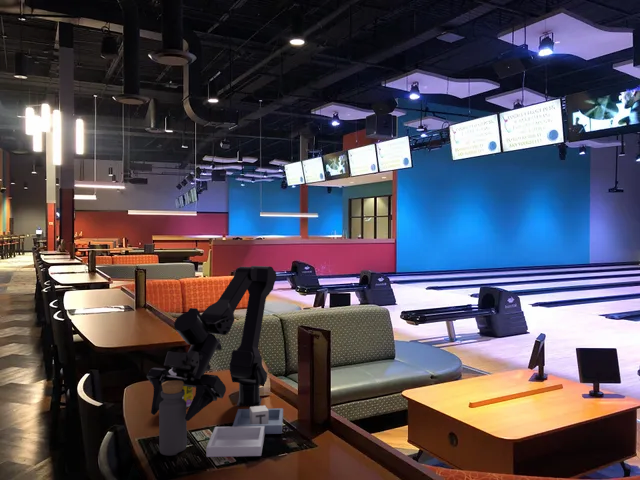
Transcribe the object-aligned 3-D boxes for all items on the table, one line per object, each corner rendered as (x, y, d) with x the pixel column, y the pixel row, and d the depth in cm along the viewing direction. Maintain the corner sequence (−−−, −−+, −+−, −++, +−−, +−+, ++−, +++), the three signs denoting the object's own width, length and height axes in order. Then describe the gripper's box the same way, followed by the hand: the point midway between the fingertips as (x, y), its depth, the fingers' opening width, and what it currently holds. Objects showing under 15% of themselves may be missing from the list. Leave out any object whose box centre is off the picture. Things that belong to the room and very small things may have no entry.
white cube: (249, 422, 131) (249, 406, 131) (265, 421, 132) (265, 405, 132) (252, 428, 127) (252, 412, 127) (268, 426, 128) (268, 410, 128)
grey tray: (215, 437, 123) (215, 426, 123) (264, 436, 123) (264, 426, 123) (206, 459, 111) (206, 447, 111) (261, 458, 112) (260, 446, 112)
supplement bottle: (188, 410, 141) (188, 363, 141) (164, 410, 141) (164, 363, 141) (195, 402, 148) (195, 357, 148) (172, 402, 148) (171, 357, 148)
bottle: (179, 456, 112) (178, 387, 112) (154, 454, 114) (153, 386, 113) (191, 445, 118) (190, 380, 118) (167, 443, 119) (167, 378, 119)
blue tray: (238, 418, 135) (238, 409, 135) (283, 417, 136) (283, 408, 136) (232, 436, 124) (232, 425, 124) (281, 435, 124) (281, 425, 124)
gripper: (151, 333, 123) (116, 393, 113) (218, 339, 116) (188, 404, 106) (173, 359, 130) (142, 417, 120) (237, 366, 123) (210, 429, 113)
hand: (169, 417), depth 115 cm, fingers open, 9 cm apart
